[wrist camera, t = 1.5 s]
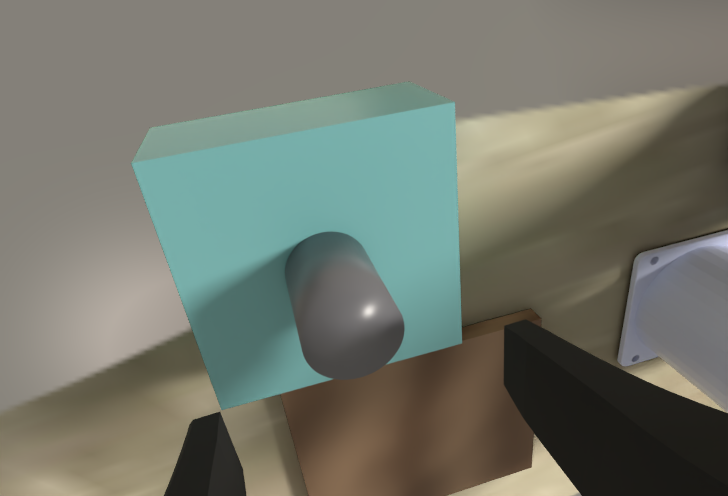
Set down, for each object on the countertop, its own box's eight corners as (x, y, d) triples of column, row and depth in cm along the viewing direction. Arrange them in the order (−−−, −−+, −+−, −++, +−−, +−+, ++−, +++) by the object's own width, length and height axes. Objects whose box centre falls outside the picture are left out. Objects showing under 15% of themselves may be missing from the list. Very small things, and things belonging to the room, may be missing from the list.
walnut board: (531, 308, 27) (541, 319, 26) (523, 454, 33) (531, 467, 32) (277, 377, 24) (279, 391, 24) (317, 521, 30) (320, 537, 29)
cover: (409, 81, 20) (520, 131, 12) (424, 289, 24) (510, 413, 17) (149, 127, 18) (102, 217, 11) (221, 341, 23) (221, 502, 15)
